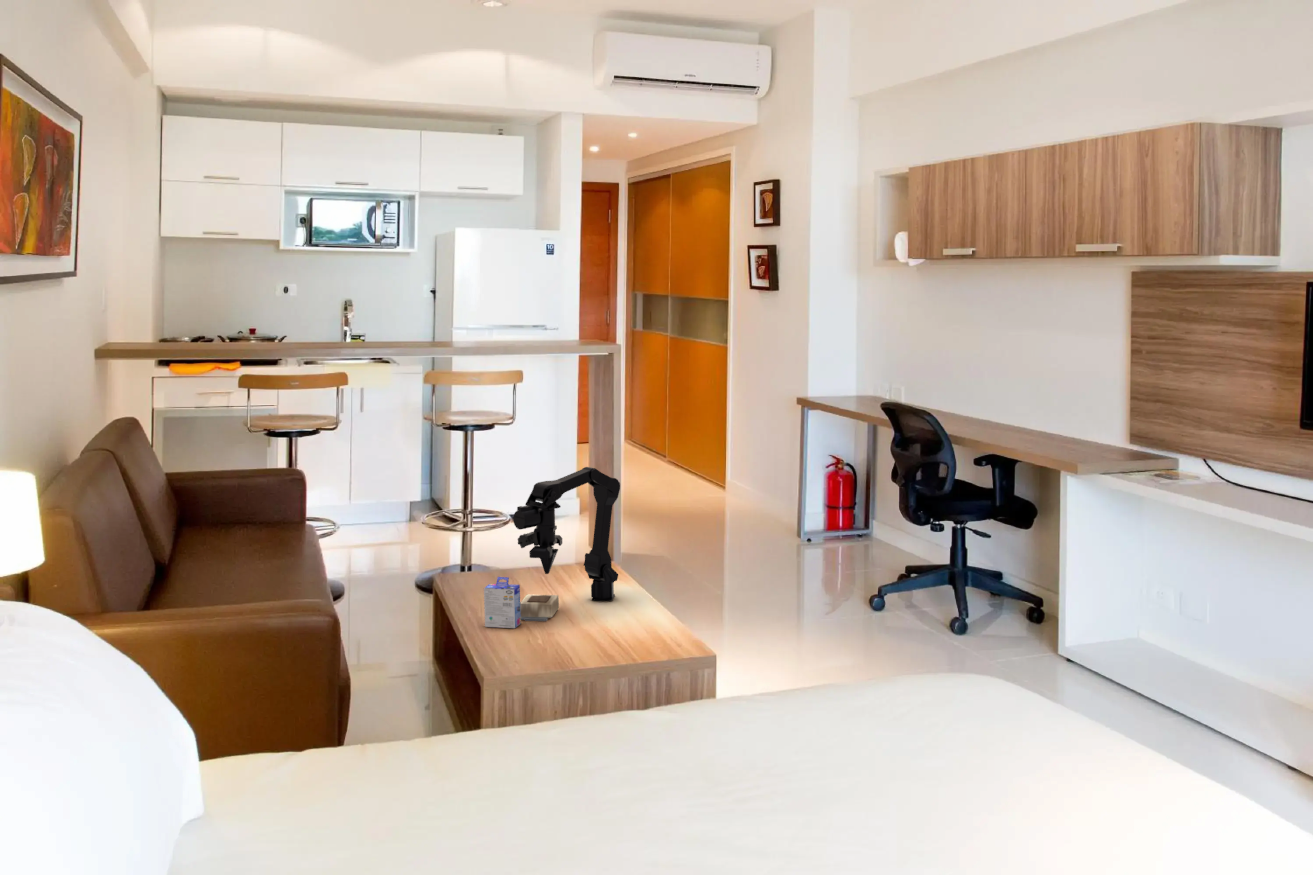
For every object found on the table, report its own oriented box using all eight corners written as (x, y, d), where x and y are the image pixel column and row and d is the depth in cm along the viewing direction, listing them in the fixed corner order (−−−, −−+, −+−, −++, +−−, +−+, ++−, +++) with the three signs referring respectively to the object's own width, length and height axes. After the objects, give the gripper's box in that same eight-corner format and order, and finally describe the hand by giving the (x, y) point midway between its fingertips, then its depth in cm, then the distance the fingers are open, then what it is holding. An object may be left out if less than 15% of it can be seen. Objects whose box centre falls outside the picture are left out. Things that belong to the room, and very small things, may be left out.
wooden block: (558, 594, 363) (527, 593, 365) (551, 603, 354) (519, 602, 355) (558, 607, 364) (527, 606, 366) (551, 617, 354) (519, 616, 356)
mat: (556, 607, 366) (556, 605, 366) (546, 621, 353) (546, 619, 353) (522, 606, 368) (522, 604, 368) (510, 620, 354) (510, 618, 354)
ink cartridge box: (521, 623, 351) (520, 576, 349) (516, 629, 346) (514, 581, 344) (490, 621, 353) (489, 575, 351) (484, 627, 348) (482, 580, 345)
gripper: (527, 516, 365) (528, 565, 368) (512, 530, 347) (513, 581, 350) (562, 517, 364) (563, 566, 366) (548, 531, 346) (550, 582, 348)
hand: (547, 573), depth 358 cm, fingers closed
